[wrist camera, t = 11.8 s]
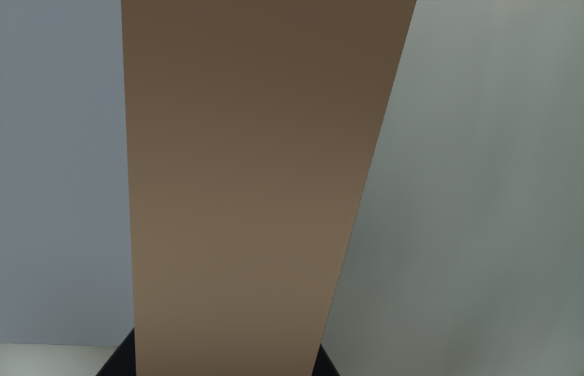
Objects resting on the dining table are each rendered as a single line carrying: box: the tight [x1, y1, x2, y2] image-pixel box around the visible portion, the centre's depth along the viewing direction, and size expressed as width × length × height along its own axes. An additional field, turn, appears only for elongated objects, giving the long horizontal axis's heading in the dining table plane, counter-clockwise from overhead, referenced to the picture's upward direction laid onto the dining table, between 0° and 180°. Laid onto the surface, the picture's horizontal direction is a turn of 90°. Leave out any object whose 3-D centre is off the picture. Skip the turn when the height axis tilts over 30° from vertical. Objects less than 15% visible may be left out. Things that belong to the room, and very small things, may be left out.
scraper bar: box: [121, 0, 416, 376], centre depth 8 cm, size 16×2×4 cm, turn 171°
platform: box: [0, 0, 134, 347], centre depth 14 cm, size 18×12×3 cm, turn 171°
